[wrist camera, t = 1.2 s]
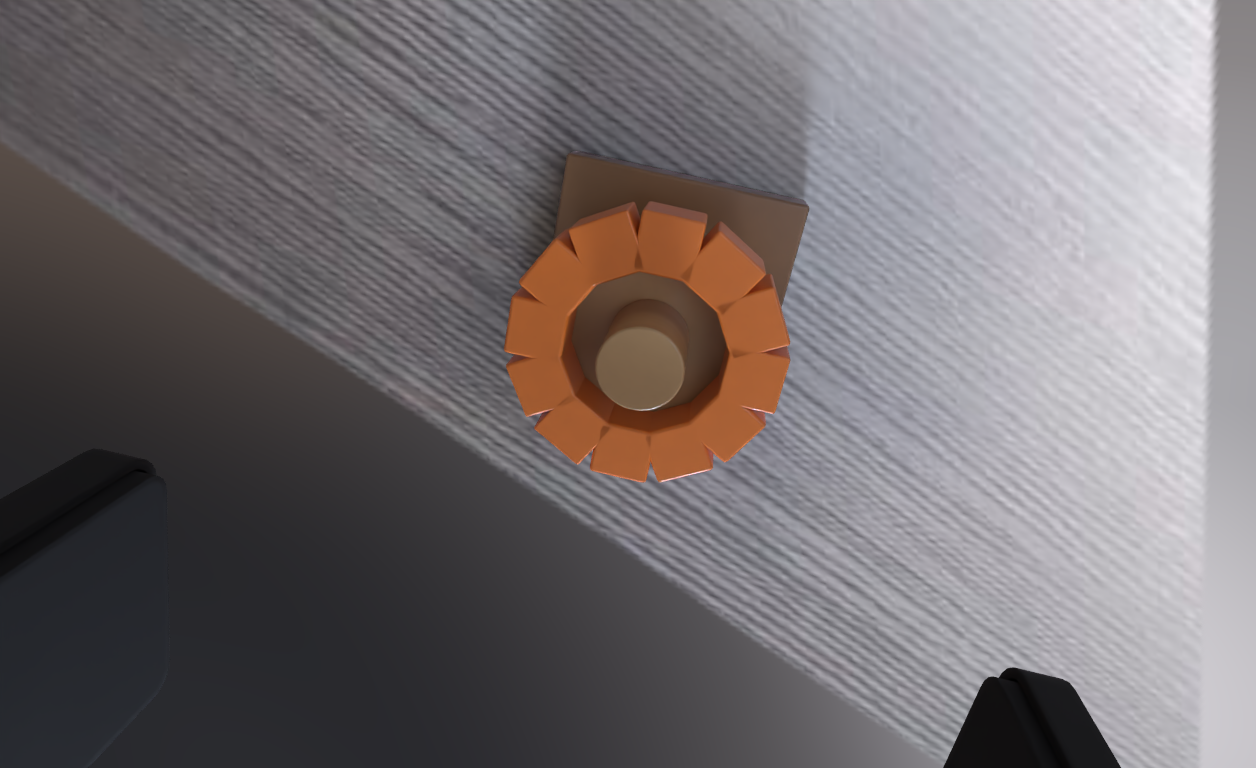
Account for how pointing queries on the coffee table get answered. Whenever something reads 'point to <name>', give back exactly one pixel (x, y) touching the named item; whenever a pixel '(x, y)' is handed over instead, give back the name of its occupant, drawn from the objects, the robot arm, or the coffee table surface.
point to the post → (665, 280)
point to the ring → (588, 415)
